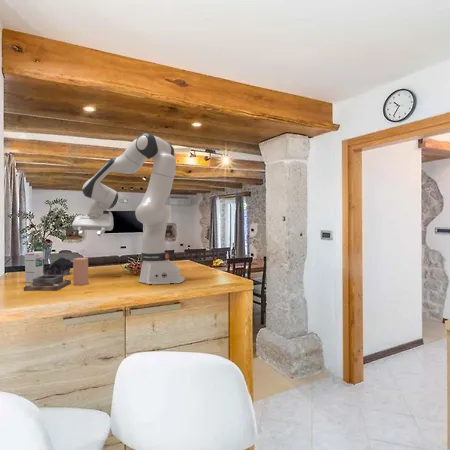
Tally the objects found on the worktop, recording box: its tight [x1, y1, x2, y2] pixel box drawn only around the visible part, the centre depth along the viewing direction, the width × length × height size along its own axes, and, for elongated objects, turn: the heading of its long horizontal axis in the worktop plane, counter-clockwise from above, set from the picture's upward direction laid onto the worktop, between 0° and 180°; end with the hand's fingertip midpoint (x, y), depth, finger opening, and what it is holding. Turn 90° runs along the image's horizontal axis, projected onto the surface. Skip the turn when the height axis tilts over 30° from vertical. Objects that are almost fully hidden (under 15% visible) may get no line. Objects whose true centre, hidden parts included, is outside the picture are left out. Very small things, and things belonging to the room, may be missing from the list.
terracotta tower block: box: [72, 257, 89, 286], centre depth 150 cm, size 5×5×12 cm
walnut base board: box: [23, 275, 72, 292], centre depth 144 cm, size 14×14×4 cm
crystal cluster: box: [44, 257, 73, 277], centre depth 173 cm, size 13×14×10 cm
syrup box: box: [24, 250, 45, 284], centre depth 155 cm, size 6×6×14 cm
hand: (89, 235), depth 162 cm, fingers open, 8 cm apart
